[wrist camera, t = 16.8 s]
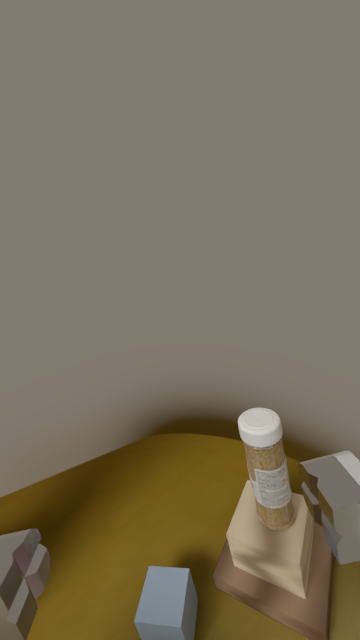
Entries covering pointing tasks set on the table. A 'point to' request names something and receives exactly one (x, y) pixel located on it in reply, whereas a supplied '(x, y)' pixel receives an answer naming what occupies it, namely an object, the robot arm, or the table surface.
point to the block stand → (278, 567)
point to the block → (167, 605)
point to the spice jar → (267, 467)
